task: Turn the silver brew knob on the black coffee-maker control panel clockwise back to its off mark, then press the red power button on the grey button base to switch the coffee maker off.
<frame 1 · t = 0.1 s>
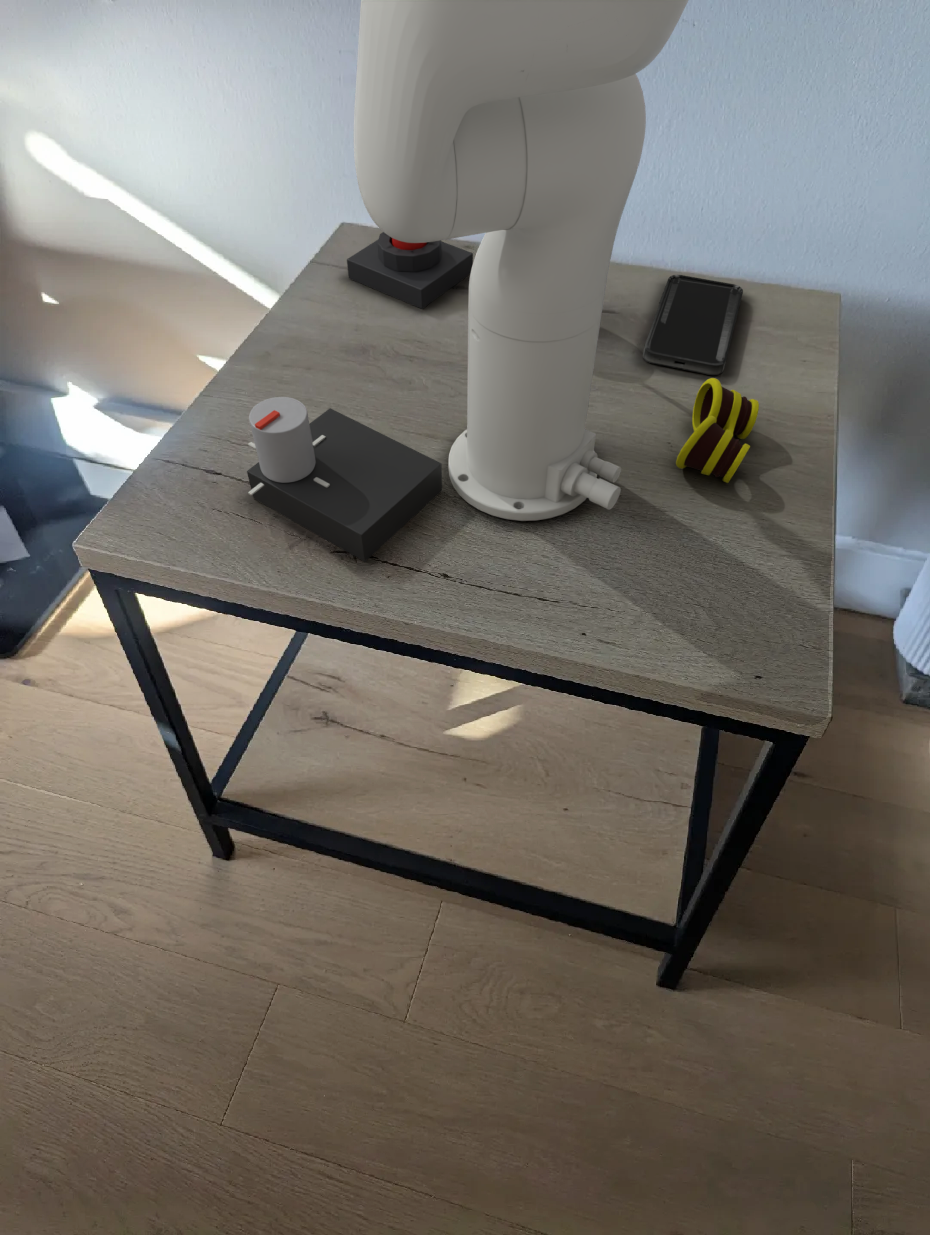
brew knob: (282, 438, 67), point 6 cm above the table, hinge at 90.0°
grey button base: (411, 275, 93), on the table
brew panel: (348, 494, 72), on the table
phone: (692, 328, 87), on the table
opera glasses: (712, 453, 76), on the table
power button: (409, 235, 90), point 4 cm above the table, slide at 0.1 cm
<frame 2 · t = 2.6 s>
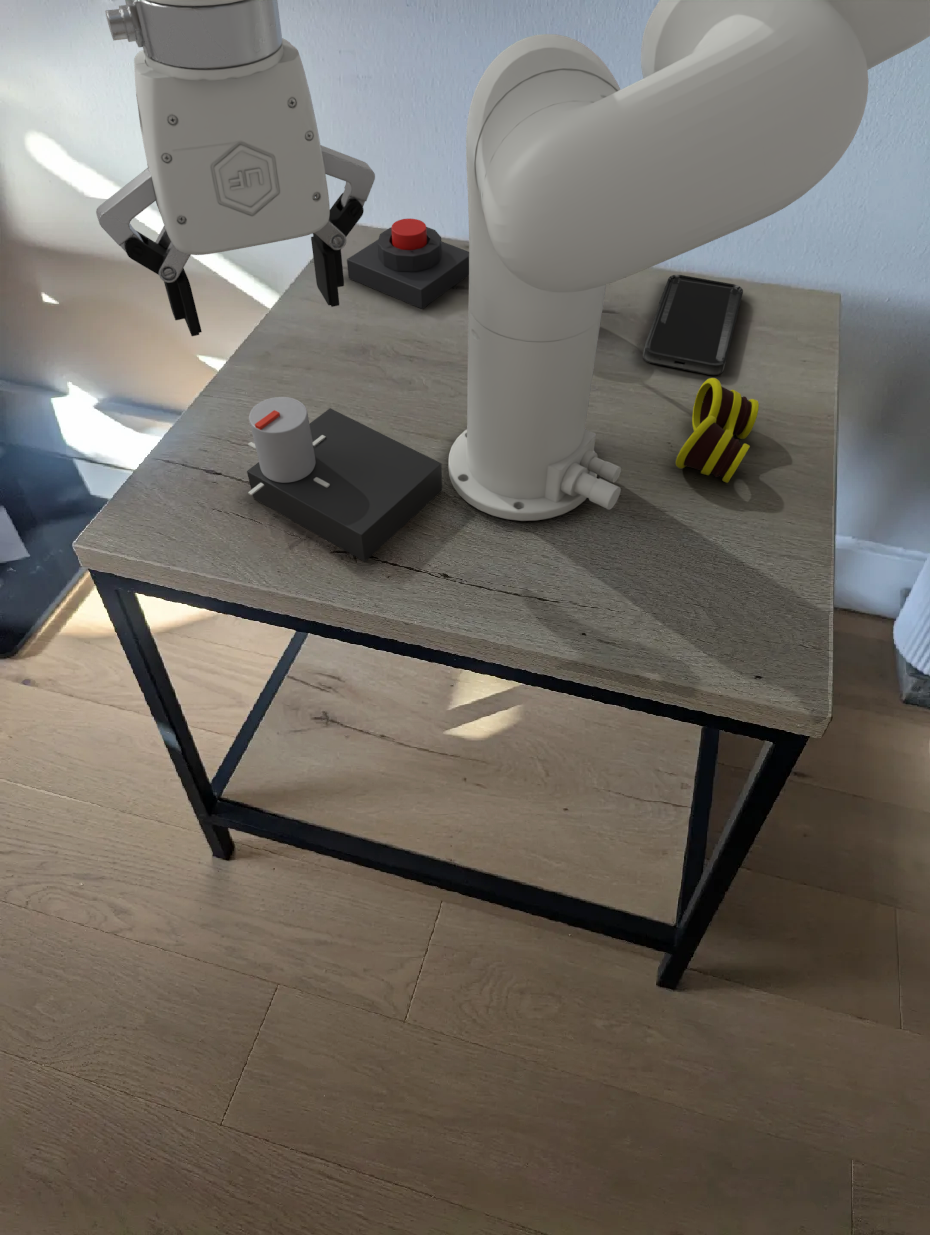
hand: (261, 310, 60), 16 cm above the table, tool pointing down, fingers open, 9 cm apart
nothing on the table moved.
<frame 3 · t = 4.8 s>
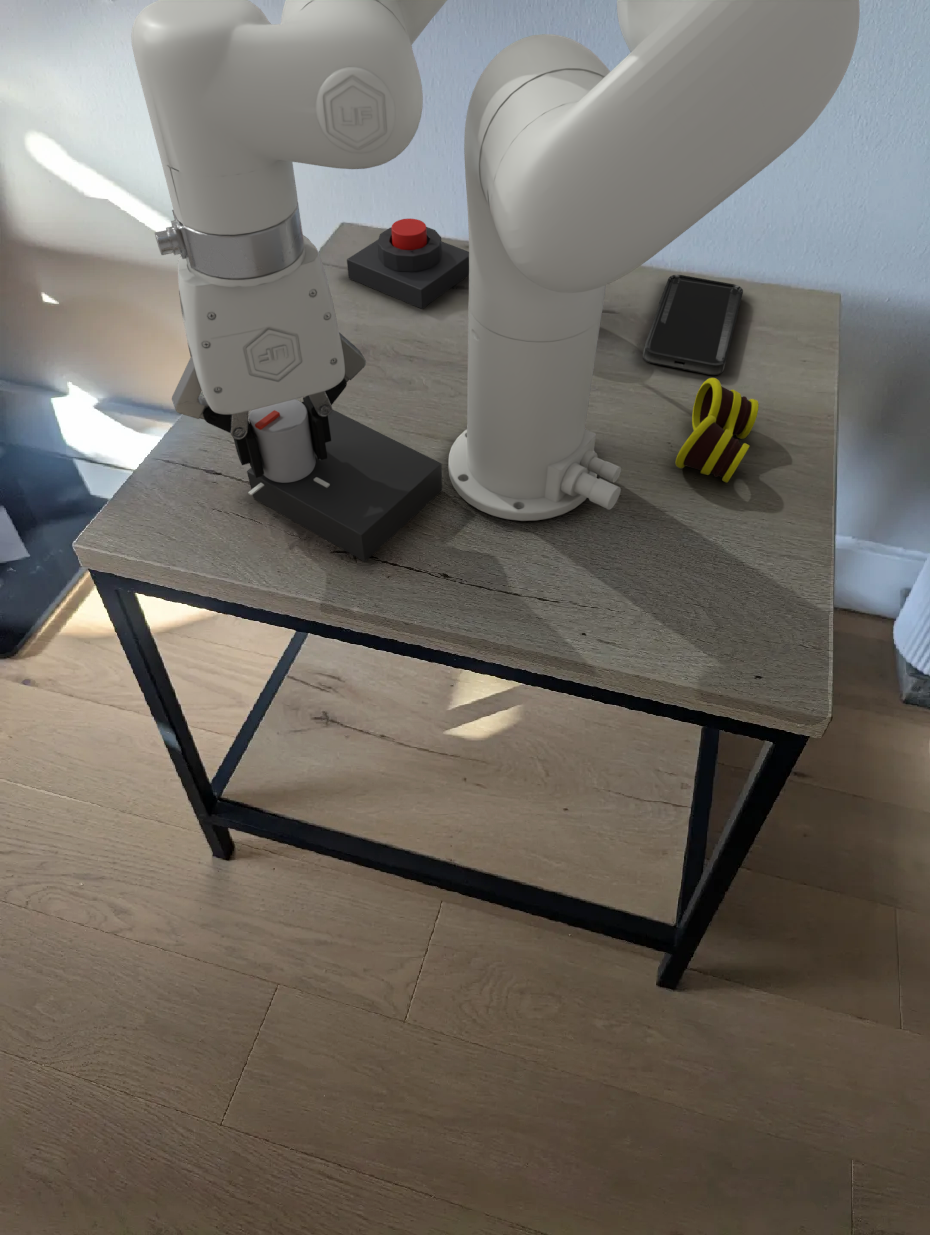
hand: (286, 455, 69), 4 cm above the table, tool pointing down, fingers closed on brew knob, 4 cm apart
brew knob: (282, 438, 67), point 6 cm above the table, hinge at 90.1°, touching gripper
everything else where it was.
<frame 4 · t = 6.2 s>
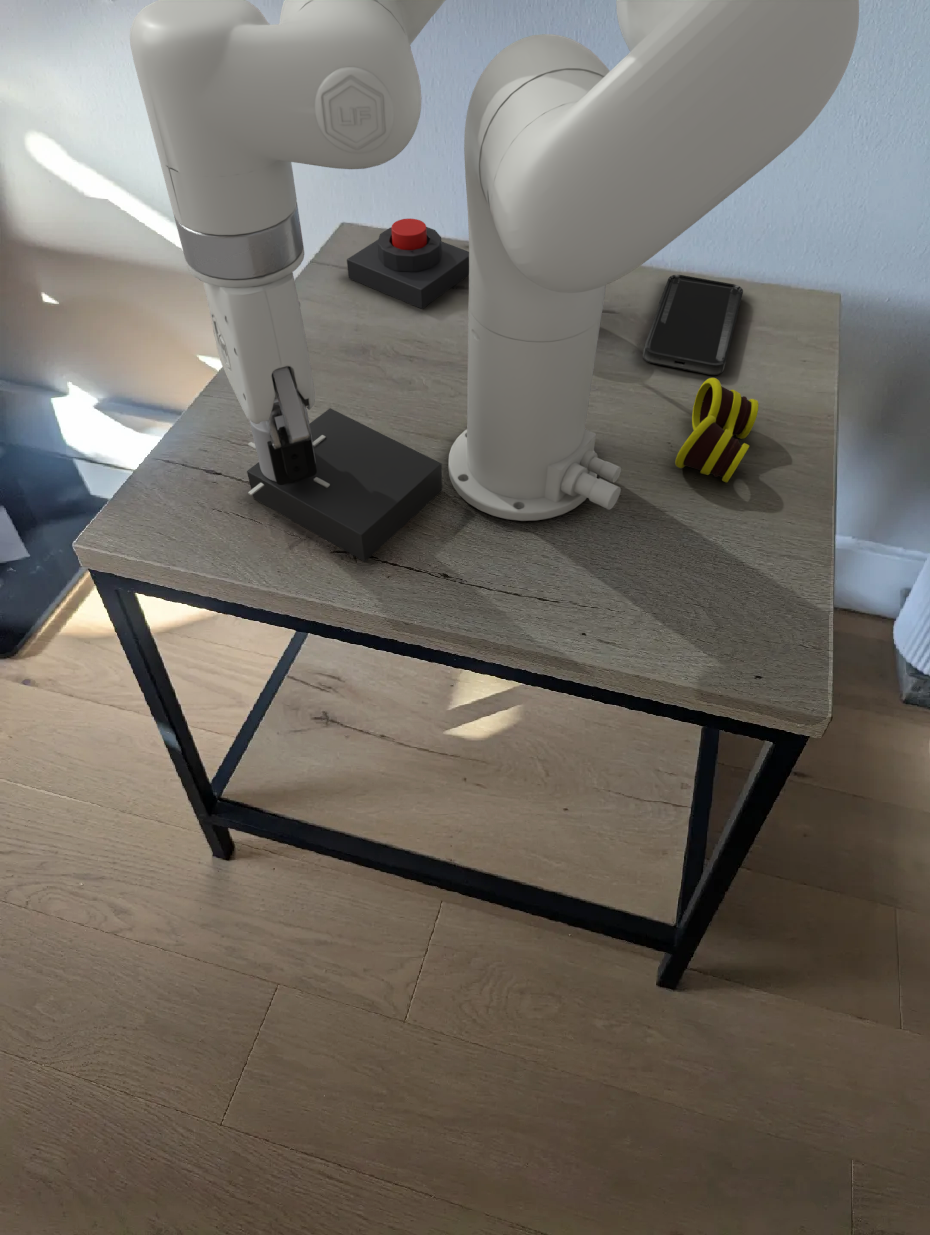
hand: (286, 456, 69), 4 cm above the table, tool pointing down, fingers closed on brew knob, 4 cm apart
brew knob: (282, 438, 67), point 6 cm above the table, hinge at 0.4°, touching gripper
everything else where it was.
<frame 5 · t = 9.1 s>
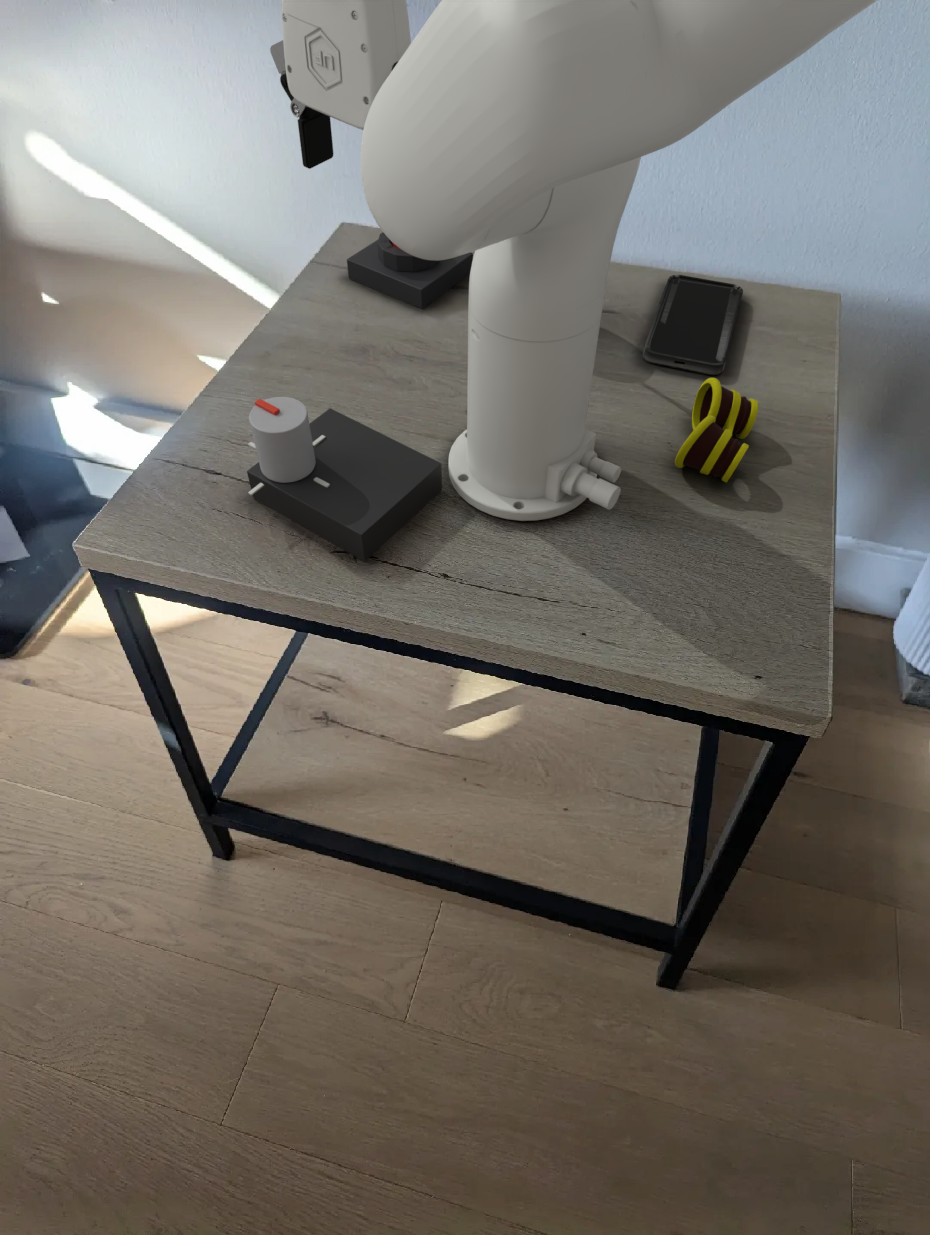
hand: (358, 181, 75), 15 cm above the table, tool pointing down, fingers open, 9 cm apart
brew knob: (282, 438, 67), point 6 cm above the table, hinge at -0.6°
everything else where it was.
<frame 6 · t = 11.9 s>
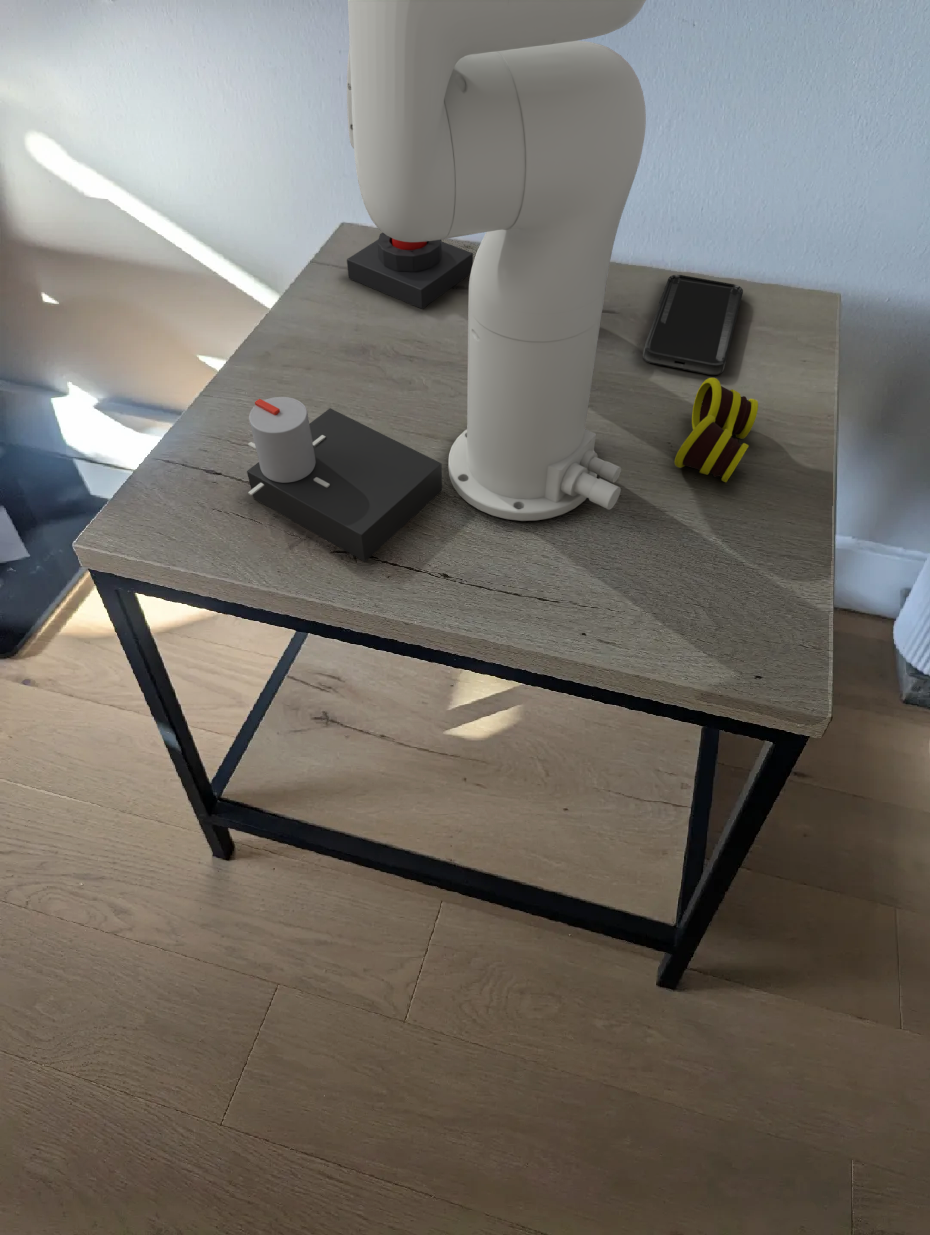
hand: (408, 227, 89), 5 cm above the table, tool pointing down, fingers closed
power button: (409, 237, 90), point 4 cm above the table, slide at -0.1 cm, touching gripper
everything else where it was.
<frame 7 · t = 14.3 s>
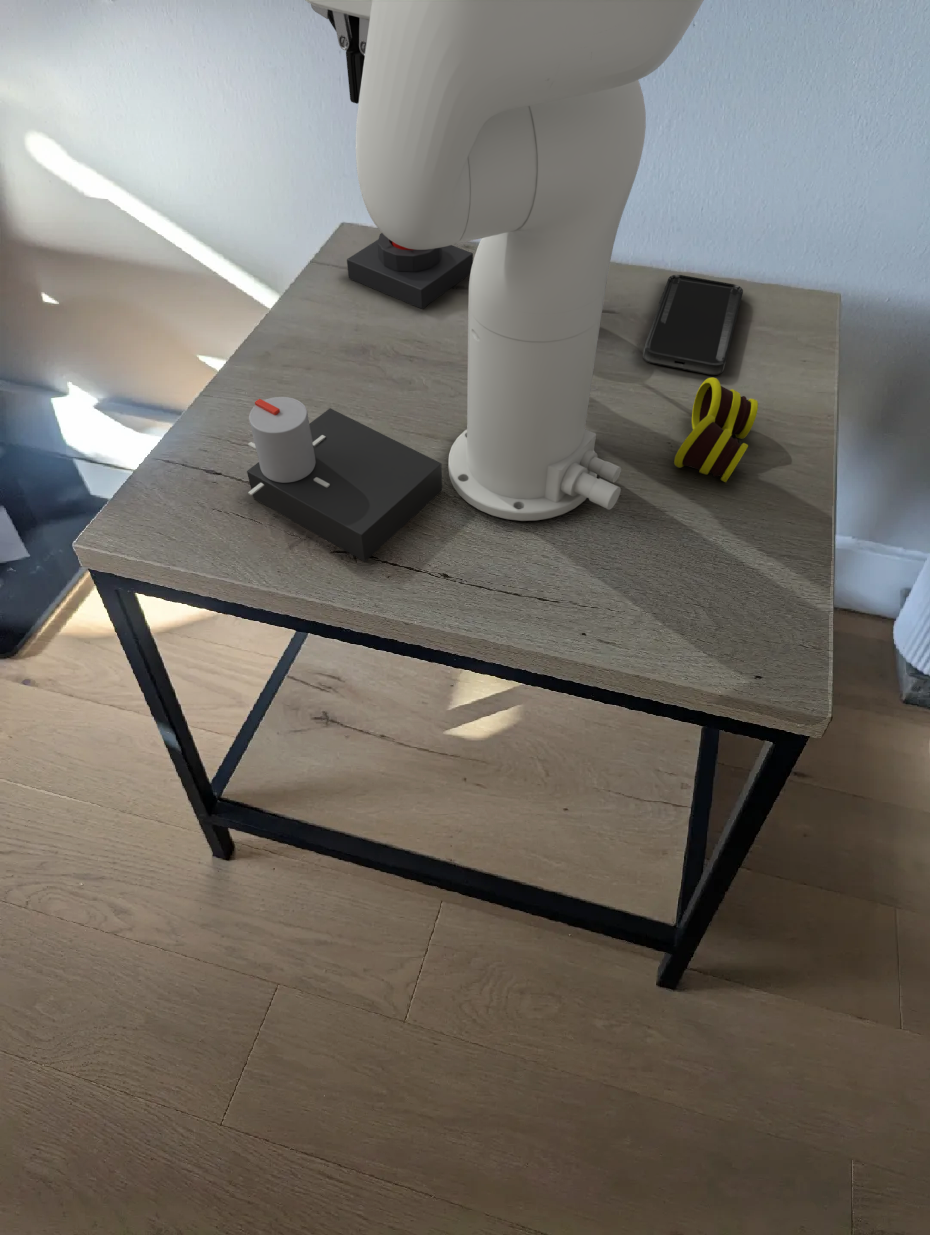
hand: (369, 99, 77), 18 cm above the table, tool pointing down, fingers closed
power button: (409, 235, 90), point 4 cm above the table, slide at 0.1 cm
everything else where it was.
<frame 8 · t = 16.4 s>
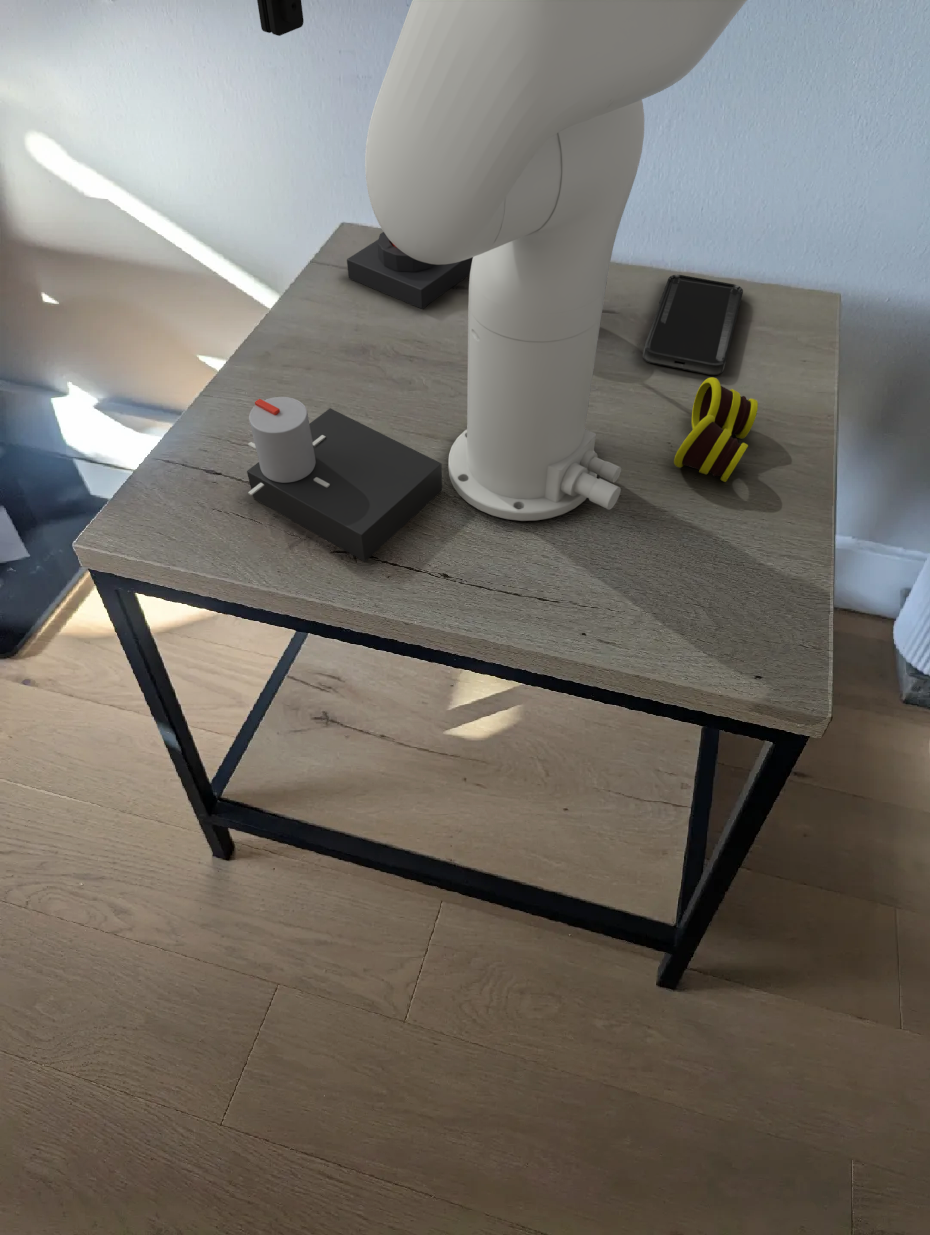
hand: (283, 28, 69), 25 cm above the table, tool pointing down, fingers closed
nothing on the table moved.
at the end: brew knob at -1° (first picture: +90°); power button pushed in 1.1 cm at the most during the clip, back to where it started at the end; power button slide at 0.1 cm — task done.
